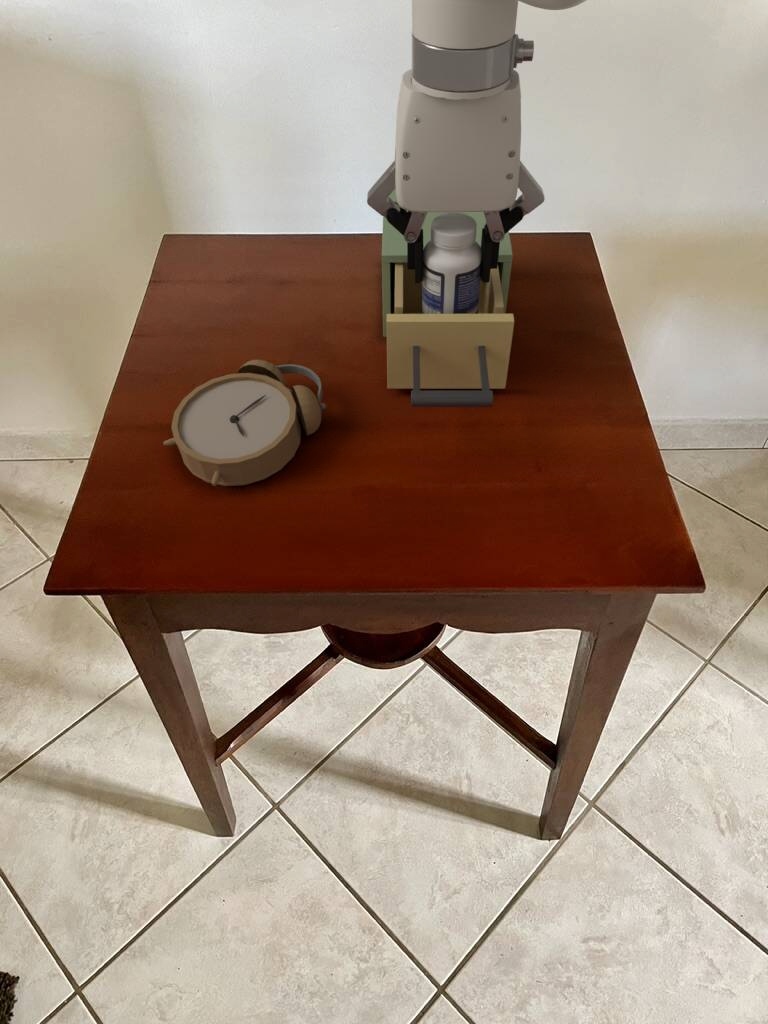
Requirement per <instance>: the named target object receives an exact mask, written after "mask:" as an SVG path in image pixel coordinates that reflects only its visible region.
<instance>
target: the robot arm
mask: <svg viewBox="0 0 768 1024" xmlns="http://www.w3.org/2000/svg"><path fill="white" fill-rule="evenodd" d="M586 1H587V0H411V68H410V69H408V70H406V71H405V72H403V74H402V76H401V81H400V86H399V92H398V100H397V109H396V122H395V145H394V160H393V161H392V163H390V165H389V166H388V168H387V169H386V170H385V171H384V172H383V173H382V175H381V176H380V177H379V178H378V179H377V180H376V181H375V183H374V184H373V185H372V186H371V188H370V189H369V190H368V191H367V195H366V197H367V198H366V203H367V205H368V206H369V207H370V208H371V209H373V210H374V211H375V212H377V213H378V214H379V215H380V216H381V217H383V216H384V217H385V218H386V219H387V221H388V222H389V223H390V224H391V225H392V226H393V227H394V228H395V229H397V230H398V231H399V232H400V233H401V234H402V235H403V236H404V239H405V241H406V242H407V270H415V283H421V282H423V229H421V228H422V226H423V223H424V220H425V218H426V215H427V212H484V215H485V218H486V222H487V223H486V225H485V226H484V228H482V238H481V250H482V266H481V281H483V282H484V283H486V282H489V281H490V270H491V269H497V266H498V256H499V246H500V241H502V240H503V239H504V237H505V234H506V233H507V232H508V231H509V232H510V231H511V230H512V229H514V228H515V226H517V225H518V224H519V223H520V222H521V221H522V220H524V217H525V216H527V215H529V214H530V213H531V212H533V211H534V210H535V209H537V208H538V207H539V206H541V205H542V204H543V203H544V202H545V193H544V189H543V188H542V187H541V185H540V184H539V183H538V182H537V180H536V178H535V177H534V176H533V175H532V174H531V173H530V171H529V170H528V168H527V167H526V166H525V165H524V163H523V162H522V160H521V149H522V148H521V146H522V93H521V81H520V74H519V72H518V71H517V70H515V69H517V66H518V64H523V62H533V59H534V53H535V52H534V51H535V42H534V40H525V38H520V37H519V34H518V33H516V29H517V28H516V27H517V16H518V10H519V9H518V7H519V2H521V3H523V4H526V5H528V6H530V7H534V8H537V9H540V10H541V9H542V10H548V11H561V10H562V11H563V10H567V9H571V8H574V7H577V6H579V5H581V4H583V3H584V2H586ZM395 188H396V197H397V202H393V201H392V199H391V198H390V197H389V195H390V194H391V193H392V191H393V190H394V189H395ZM518 189H519V191H520V192H521V194H520V195H519V196H518ZM517 196H518V197H517ZM406 210H407V211H406ZM500 210H501V211H500Z"/></svg>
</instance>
